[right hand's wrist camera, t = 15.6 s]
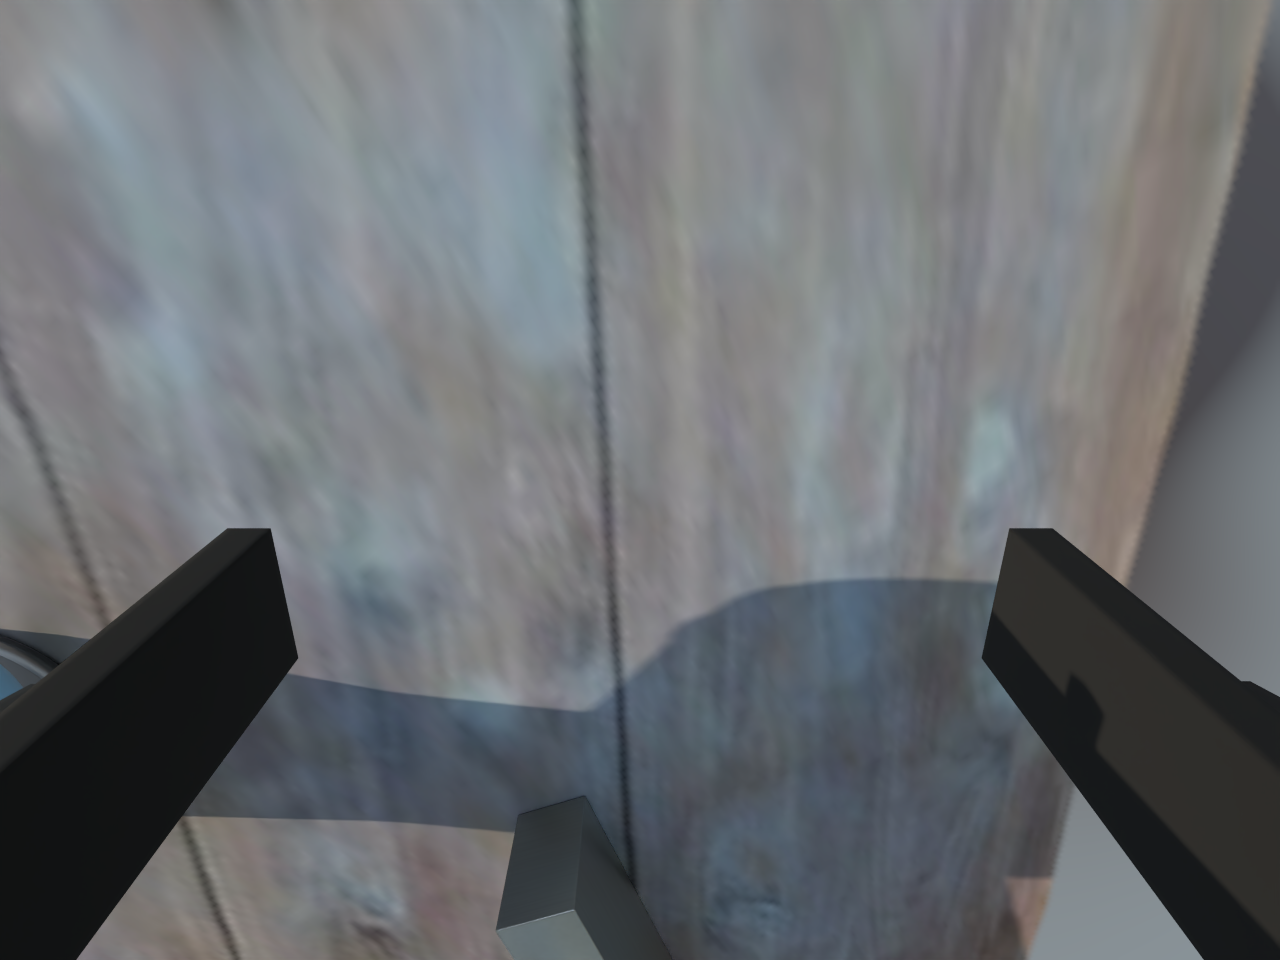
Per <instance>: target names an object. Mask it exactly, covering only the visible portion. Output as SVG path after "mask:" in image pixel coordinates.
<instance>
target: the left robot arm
mask: <svg viewBox="0 0 1280 960" xmlns="http://www.w3.org/2000/svg"><path fill="white" fill-rule="evenodd" d="M57 666H58V664H56V663H55V662H54V661H52V660H51V659H49V658H48V657H46V656H45V655H43V654H41V653H39V652H38V651H36V650H34V649H32V648H30V647H28V646H26V645H24V644H22V643H19V642H17V641H15V640H12V639H10V638H7V637H4V636H1V635H0V700H2V699H3V698H5V697H7V696H9V695H11V694H13V693H15V692H16V691H18V690H20V689H22V688H24V687H26V686H28V685H30V684H36V683H37V682H39V681H40V680H41V679H42V678H44V677H45V676H46V675H47V674H49V673H50V672H51V671H52V670H53V669H55V668H56V667H57Z"/></svg>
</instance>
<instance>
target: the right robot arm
mask: <svg viewBox="0 0 1280 960" xmlns="http://www.w3.org/2000/svg"><path fill="white" fill-rule="evenodd" d="M297 659H298V654H297V650H296V645H295V640H294V636H293V631H292V626H291V622H290V617H289V612H288V608H287V603H286V598H285V594H284V589H283V584H282V580H281V575H280V570H279V566H278V561H277V556H276V552H275V547H274V542H273V538H272V533H271V528H227V529H226V530H225V531H224V532H222V533H221V534H220V535H219V536H218V537H216V538H215V539H214V540H213V541H211V542H210V543H209V544H208V545H206V546H205V547H204V548H203V549H201V550H200V551H199V552H198V553H197V554H195V555H194V556H193V557H192V558H190V559H189V560H188V561H187V562H185V563H184V564H183V565H182V566H181V567H179V568H178V569H177V570H176V571H174V572H173V573H172V574H171V575H169V576H168V577H167V578H166V579H164V580H163V581H162V582H161V583H160V584H158V585H157V586H156V587H155V588H153V589H152V590H151V591H150V592H148V593H147V594H146V595H145V596H144V597H142V598H141V599H140V600H139V601H137V602H136V603H135V604H134V605H132V606H131V607H130V608H129V609H127V610H126V611H125V612H124V613H123V614H121V615H120V616H119V617H118V618H116V619H115V620H114V621H113V622H111V623H110V624H109V625H108V626H107V627H105V628H104V629H103V630H102V631H100V632H99V633H98V634H97V635H95V636H94V637H93V638H92V639H90V640H89V641H88V642H87V643H86V644H84V645H83V646H82V647H81V648H79V649H78V650H77V651H76V652H74V653H73V654H72V655H71V656H70V657H68V658H67V659H66V660H65V661H63V662H62V663H61V664H60V665H58V666H57V667H56V668H55V669H53V670H52V671H51V672H50V673H49V674H47V675H46V676H45V677H44V678H42V679H41V680H40V681H39V682H37V683H36V684H30V685H28V686H26V687H24V688H22V689H20V690H18V691H16V692H15V693H13V694H11V695H9V696H7V697H5V698H3V699H2V700H0V960H76V959H77V958H78V957H79V955H80V954H81V952H82V951H83V950H84V948H85V947H86V946H87V944H88V943H89V942H90V940H91V939H92V938H93V936H94V935H95V933H96V932H97V931H98V929H99V928H100V927H101V925H102V924H103V923H104V921H105V920H106V919H107V917H108V916H109V914H110V913H111V912H112V910H113V909H114V908H115V906H116V905H117V904H118V902H119V901H120V900H121V898H122V897H123V895H124V894H125V893H126V891H127V890H128V889H129V887H130V886H131V885H132V883H133V882H134V880H135V879H136V878H137V876H138V875H139V874H140V872H141V871H142V870H143V868H144V867H145V866H146V864H147V863H148V861H149V860H150V859H151V857H152V856H153V855H154V853H155V852H156V851H157V849H158V848H159V847H160V845H161V844H162V842H163V841H164V840H165V838H166V837H167V836H168V834H169V833H170V832H171V830H172V829H173V828H174V826H175V825H176V823H177V822H178V821H179V819H180V818H181V817H182V815H183V814H184V813H185V811H186V810H187V809H188V807H189V806H190V804H191V803H192V802H193V800H194V799H195V798H196V796H197V795H198V794H199V792H200V791H201V789H202V788H203V787H204V785H205V784H206V783H207V781H208V780H209V779H210V777H211V776H212V775H213V773H214V772H215V770H216V769H217V768H218V766H219V765H220V764H221V762H222V761H223V760H224V758H225V757H226V756H227V754H228V753H229V751H230V750H231V749H232V747H233V746H234V745H235V743H236V742H237V741H238V739H239V738H240V737H241V735H242V734H243V732H244V731H245V730H246V728H247V727H248V726H249V724H250V723H251V722H252V720H253V719H254V718H255V716H256V715H257V713H258V712H259V711H260V709H261V708H262V707H263V705H264V704H265V703H266V701H267V700H268V698H269V697H270V696H271V694H272V693H273V692H274V690H275V689H276V688H277V686H278V685H279V684H280V682H281V681H282V679H283V678H284V677H285V675H286V674H287V673H288V671H289V670H290V669H291V667H292V666H293V665H294V663H295V662H296V660H297ZM982 659H983V660H984V662H985V663H986V665H987V666H988V667H989V669H990V670H991V671H992V673H993V674H994V675H995V677H996V678H997V679H998V681H999V682H1000V684H1001V685H1002V686H1003V688H1004V689H1005V690H1006V692H1007V693H1008V694H1009V696H1010V697H1011V698H1012V700H1013V701H1014V703H1015V704H1016V705H1017V707H1018V708H1019V709H1020V711H1021V712H1022V713H1023V715H1024V716H1025V718H1026V719H1027V720H1028V722H1029V723H1030V724H1031V726H1032V727H1033V728H1034V730H1035V731H1036V732H1037V734H1038V735H1039V737H1040V738H1041V739H1042V741H1043V742H1044V743H1045V745H1046V746H1047V747H1048V749H1049V750H1050V751H1051V753H1052V754H1053V756H1054V757H1055V758H1056V760H1057V761H1058V762H1059V764H1060V765H1061V766H1062V768H1063V769H1064V770H1065V772H1066V773H1067V775H1068V776H1069V777H1070V779H1071V780H1072V781H1073V783H1074V784H1075V785H1076V787H1077V788H1078V789H1079V791H1080V792H1081V794H1082V795H1083V796H1084V798H1085V799H1086V800H1087V802H1088V803H1089V804H1090V806H1091V807H1092V808H1093V810H1094V811H1095V813H1096V814H1097V815H1098V817H1099V818H1100V819H1101V821H1102V822H1103V823H1104V825H1105V826H1106V828H1107V829H1108V830H1109V832H1110V833H1111V834H1112V836H1113V837H1114V838H1115V840H1116V841H1117V842H1118V844H1119V845H1120V847H1121V848H1122V849H1123V851H1124V852H1125V853H1126V855H1127V856H1128V857H1129V859H1130V860H1131V861H1132V863H1133V864H1134V866H1135V867H1136V868H1137V870H1138V871H1139V872H1140V874H1141V875H1142V876H1143V878H1144V879H1145V880H1146V882H1147V883H1148V885H1149V886H1150V887H1151V889H1152V890H1153V891H1154V893H1155V894H1156V895H1157V897H1158V898H1159V900H1160V901H1161V902H1162V904H1163V905H1164V906H1165V908H1166V909H1167V910H1168V912H1169V913H1170V914H1171V916H1172V917H1173V919H1174V920H1175V921H1176V923H1177V924H1178V925H1179V927H1180V928H1181V929H1182V931H1183V932H1184V933H1185V935H1186V936H1187V938H1188V939H1189V940H1190V942H1191V943H1192V944H1193V946H1194V947H1195V948H1196V950H1197V951H1198V952H1199V954H1200V955H1201V956H1202V958H1203V959H1204V960H1280V697H1279V696H1277V695H1275V694H1273V693H1271V692H1269V691H1267V690H1265V689H1263V688H1262V687H1260V686H1258V685H1256V684H1254V683H1252V682H1250V681H1240V680H1239V679H1238V678H1236V677H1235V676H1234V675H1233V674H1231V673H1230V672H1229V671H1228V670H1227V669H1225V668H1224V667H1223V666H1221V665H1220V664H1219V663H1218V662H1217V661H1215V660H1214V659H1213V658H1212V657H1210V656H1209V655H1208V654H1207V653H1206V652H1204V651H1203V650H1202V649H1201V648H1199V647H1198V646H1197V645H1196V644H1194V643H1193V642H1192V641H1191V640H1189V639H1188V638H1187V637H1186V636H1185V635H1183V634H1182V633H1181V632H1180V631H1178V630H1177V629H1176V628H1175V627H1173V626H1172V625H1171V624H1170V623H1168V622H1167V621H1166V620H1165V619H1164V618H1162V617H1161V616H1160V615H1159V614H1157V613H1156V612H1155V611H1154V610H1153V609H1151V608H1150V607H1149V606H1148V605H1146V604H1145V603H1144V602H1143V601H1141V600H1140V599H1139V598H1138V597H1136V596H1135V595H1134V594H1133V593H1132V592H1130V591H1129V590H1128V589H1127V588H1125V587H1124V586H1123V585H1122V584H1120V583H1119V582H1118V581H1117V580H1116V579H1114V578H1113V577H1112V576H1111V575H1109V574H1108V573H1107V572H1106V571H1104V570H1103V569H1102V568H1101V567H1099V566H1098V565H1097V564H1096V563H1095V562H1093V561H1092V560H1091V559H1090V558H1088V557H1087V556H1086V555H1085V554H1083V553H1082V552H1081V551H1080V550H1079V549H1077V548H1076V547H1075V546H1074V545H1072V544H1071V543H1070V542H1069V541H1067V540H1066V539H1065V538H1064V537H1062V536H1061V535H1060V534H1059V533H1058V532H1056V531H1055V530H1054V529H1053V528H1009V533H1008V538H1007V542H1006V547H1005V552H1004V556H1003V561H1002V566H1001V570H1000V575H999V580H998V584H997V589H996V594H995V598H994V603H993V608H992V612H991V617H990V622H989V626H988V631H987V636H986V640H985V645H984V650H983V654H982Z"/></svg>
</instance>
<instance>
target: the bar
mask: <svg viewBox="0 0 1280 960" xmlns="http://www.w3.org/2000/svg"><path fill="white" fill-rule="evenodd" d="M496 933H497V935H498V936H499V938H500V939H501V941H502V942H503V944H504V945H505V947H506V948H507V950H508V951H509V953H510V954H511V956H512V957H513V959H514V960H672V959H671V957H670V955H669V953H668V951H667V949H666V947H665V945H664V944H663V942H662V940H661V938H660V936H659V934H658V932H657V930H656V928H655V927H654V925H653V923H652V921H651V919H650V917H649V915H648V913H647V912H646V910H645V908H644V906H643V904H642V902H641V900H640V898H639V897H638V895H637V893H636V891H635V889H634V887H633V885H632V883H631V881H630V880H629V878H628V876H627V874H626V872H625V870H624V868H623V866H622V865H621V863H620V861H619V859H618V857H617V855H616V853H615V851H614V849H613V848H612V846H611V844H610V842H609V840H608V838H607V836H606V834H605V833H604V831H603V829H602V827H601V825H600V823H599V821H598V819H597V818H596V816H595V814H594V812H593V810H592V808H591V806H590V804H589V802H588V801H587V799H586V797H585V796H583V797H580V798H576V799H573V800H570V801H566V802H563V803H559V804H556V805H552V806H549V807H545V808H542V809H538V810H535V811H531V812H528V813H525V814H521V815H519V816H518V820H517V825H516V830H515V835H514V840H513V845H512V850H511V855H510V860H509V865H508V870H507V876H506V881H505V886H504V891H503V896H502V901H501V906H500V911H499V916H498V921H497V926H496Z"/></svg>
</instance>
